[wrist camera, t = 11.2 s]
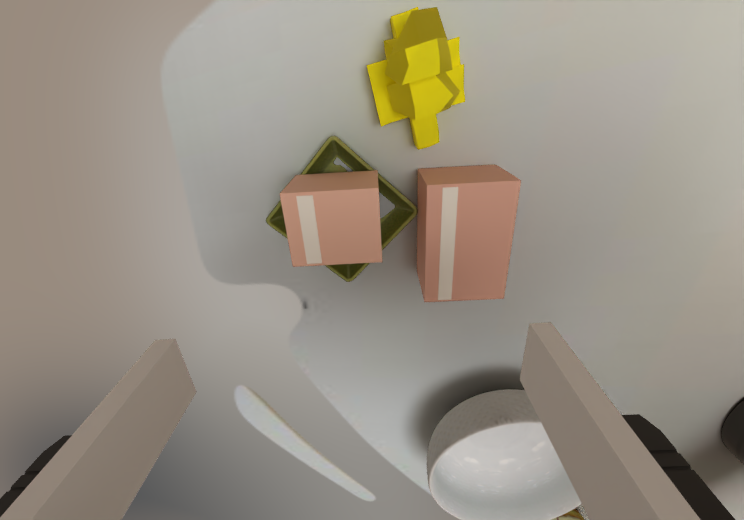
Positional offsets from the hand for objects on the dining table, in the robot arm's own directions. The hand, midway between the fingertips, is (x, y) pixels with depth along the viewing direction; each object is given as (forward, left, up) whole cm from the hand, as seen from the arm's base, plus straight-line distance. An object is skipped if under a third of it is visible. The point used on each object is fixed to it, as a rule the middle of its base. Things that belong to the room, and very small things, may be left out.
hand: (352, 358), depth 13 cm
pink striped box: (-1, -7, -17) cm, 19 cm away
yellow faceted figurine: (+9, -4, -17) cm, 20 cm away
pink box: (+1, +2, -15) cm, 15 cm away
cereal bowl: (-26, -13, -17) cm, 34 cm away
